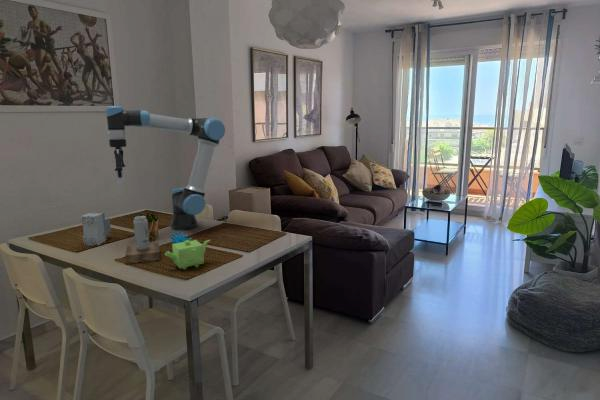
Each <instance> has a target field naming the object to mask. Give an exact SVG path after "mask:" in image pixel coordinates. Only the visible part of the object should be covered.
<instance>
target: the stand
mask: <svg viewBox="0 0 600 400" xmlns="http://www.w3.org/2000/svg"><path fill="white" fill-rule="evenodd" d="M156 260H159V261H161V256H160V245H159V242H154V243H150V247H149V249H147V250H143V251H139V250H137V249H136V245H127V246H126V251H125V263H126V265H132V264H131V263H134V264H139V263H138V262H142V263H149V262H148V261H150V262H157V261H156Z"/></svg>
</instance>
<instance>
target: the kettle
mask: <svg viewBox="0 0 600 400" xmlns="http://www.w3.org/2000/svg"><path fill="white" fill-rule="evenodd" d="M210 241H211V239H208V240H204V242H203V244H202V243H201V242H199V241H198V240H197V239H194V240H190V241H189V240H187V241H184V242H181V243H171V246H172V248H171V249H172V251H171V252H170V251H169V250H166V251H165V253H164V256H166V257H168V258H170V259H172V260H173V263H174V264H175V266H177V268H179V269H181V270H182V269H186V268H187V269H188V267H194V266H195V267H194V268H199V267H198V266H200V265H203V264H205V257H204V256H205V253H206V250H207V249H206V248H207V245H208V243H210ZM187 269H186V270H187Z"/></svg>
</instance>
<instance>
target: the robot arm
mask: <svg viewBox="0 0 600 400" xmlns="http://www.w3.org/2000/svg"><path fill="white" fill-rule="evenodd" d="M105 109H106V121H107V122H106V123H107V132H106V133H107V134H108V138H109V141H108V143H109V147H110V148H115V149H114V151H113V154H114V159H115V168H114V171H115V172H116V181H117V185H125V182H124V181H125V180H126V175H125V174H126V173H125V172H126V171H125V167H126V164H125V161H124V150H123V148H125V147H127V139H126V138H127V136H126V127H138V128H139V127H141V128H148V129H155V130H163V131H170V132H177V133H186V135H188V136H192V137H196V138H197V141H198V146H197V150H196V154H195V159H194V161H193V165H192V169H191V174H190V175H189V176H190V177H189V180H188V184H187V185H186V186H184V187H179V188H178V187H177V188H173V189H172V190H171V200H172V201H171V202H172V205H171V206H172V218H171V221H170V229H172V230H175V231H185V230H186V231H187V230H192V229H195V228H198V226H199V225H198V220H197V217H196V215H199V214H201V213H202V212H203V211H204V210H205V209H206V208H205V207H206V199H205V196H206V191H205V189H204V188H205V185H206V181H207V178H208V177H207V176H208V173H209V170H210V165H211V162H212V158H213V156H214V155H213V154H214V150H215V148H216V147H218V146H219V144H220V140H221V139H222V138H223V137H224V136H225V135H226V127H225V124H224V122H223V121H222V120H221V119H218V118H215V117H200V118H197V117H196V118H194V117H188V118H180V117H175V116H174V117H173V116H167V115H161V114H154V113H149V111H148V110H142V109H141V110H140V109H139V110H137V109H136V110H125V108H124V107H123V105H122V106H120V105H119V106H118V105H110V106H109V105H108V106H107V107H106V108H105Z"/></svg>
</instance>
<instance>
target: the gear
mask: <svg viewBox="0 0 600 400" xmlns="http://www.w3.org/2000/svg"><path fill="white" fill-rule="evenodd" d="M179 234H180V235H179ZM171 235H172V236H170V238H169V239H170V244H175V243H181V242H184V241H187V240H189V241H192V237H188V235H187V234H185V235H184V232H179V231H176V232H174V233H172V234H171Z"/></svg>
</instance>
